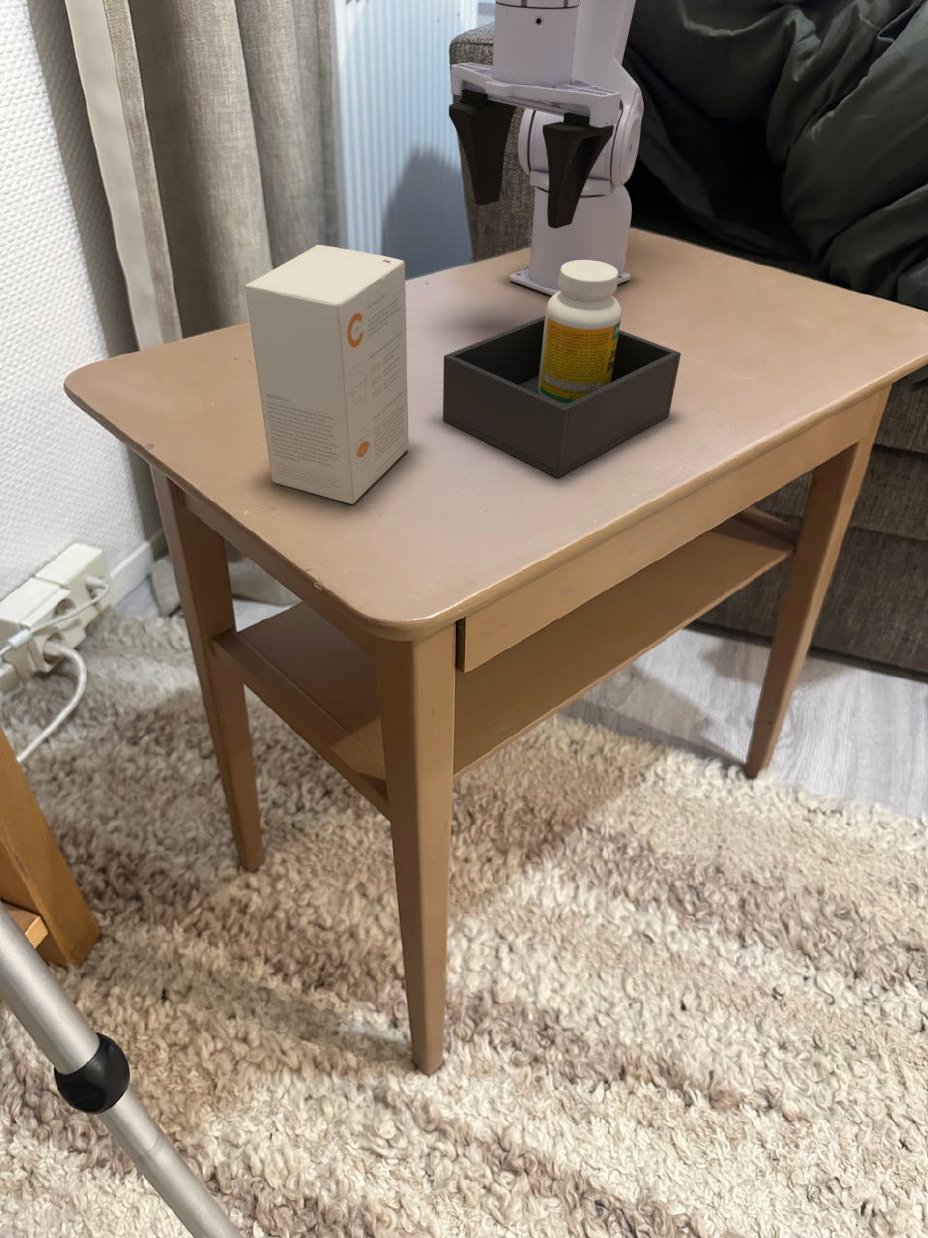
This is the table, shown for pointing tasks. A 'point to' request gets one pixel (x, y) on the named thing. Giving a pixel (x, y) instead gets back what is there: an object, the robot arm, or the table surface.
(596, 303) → the supplement bottle
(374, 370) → the small box
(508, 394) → the open black bin
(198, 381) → the table surface
